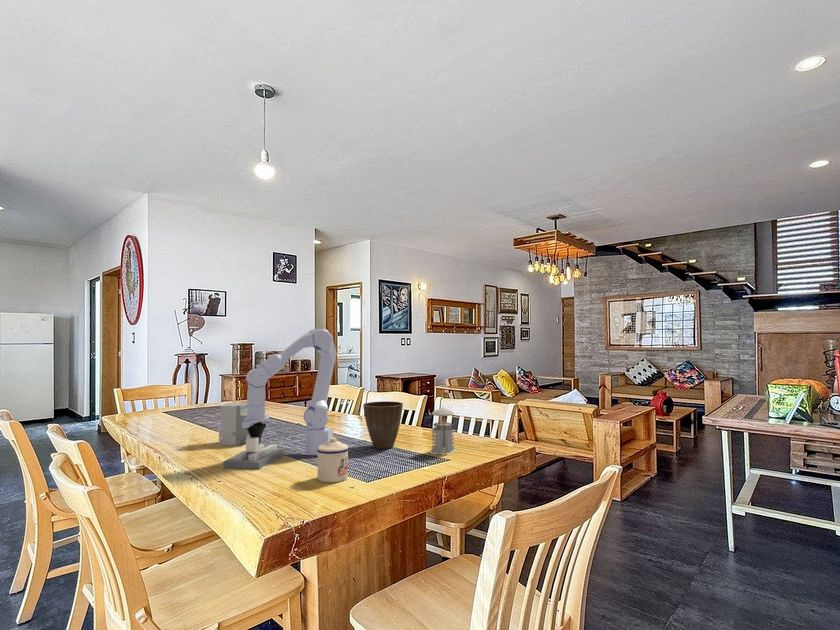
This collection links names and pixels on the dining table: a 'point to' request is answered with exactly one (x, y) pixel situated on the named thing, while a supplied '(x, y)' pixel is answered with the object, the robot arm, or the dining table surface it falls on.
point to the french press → (443, 433)
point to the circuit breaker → (233, 424)
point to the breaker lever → (252, 445)
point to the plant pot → (383, 422)
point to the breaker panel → (257, 462)
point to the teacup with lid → (332, 461)
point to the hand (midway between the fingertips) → (255, 446)
